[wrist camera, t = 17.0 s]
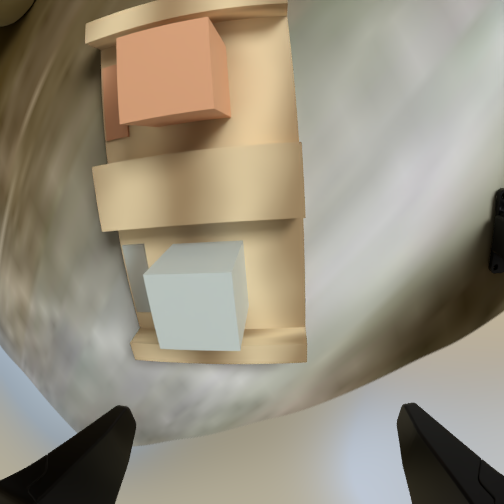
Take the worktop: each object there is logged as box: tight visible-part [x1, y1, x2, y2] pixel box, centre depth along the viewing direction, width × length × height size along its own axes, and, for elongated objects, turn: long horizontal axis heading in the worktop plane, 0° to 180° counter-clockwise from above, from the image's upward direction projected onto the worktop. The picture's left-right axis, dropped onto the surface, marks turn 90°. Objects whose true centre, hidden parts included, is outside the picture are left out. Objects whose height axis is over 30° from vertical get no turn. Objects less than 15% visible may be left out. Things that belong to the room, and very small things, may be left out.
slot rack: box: [85, 0, 307, 364], centre depth 18 cm, size 12×23×3 cm, turn 4°
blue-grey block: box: [143, 240, 249, 351], centre depth 18 cm, size 4×4×5 cm
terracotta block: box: [116, 17, 231, 127], centre depth 14 cm, size 4×4×5 cm
